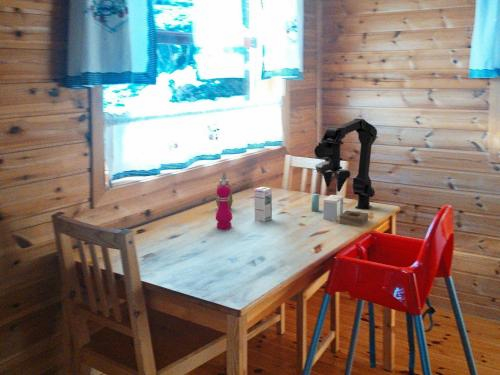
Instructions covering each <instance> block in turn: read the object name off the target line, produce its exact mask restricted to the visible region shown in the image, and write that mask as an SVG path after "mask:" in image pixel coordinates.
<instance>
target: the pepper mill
mask: <svg viewBox="0 0 500 375" xmlns="http://www.w3.org/2000/svg"><path fill="white" fill-rule="evenodd" d="M231 190H232V189H231ZM231 190H230V188H229V187H228V186H226V183H225V182H222V183H221V186H219V187H218V188H217V187H216V196H217V195H218V200H219V208H218V207H217V208H218V209H217V211H216V213H215V220H216V228H217V229H220V230H228V229H230V228H232V220H233V214H232V211H231V209H230V208H229V204H228V202H229V200H230V199H229V198H230V197H229V195H230V193H231Z"/></svg>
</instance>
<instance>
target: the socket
mask: <svg viewBox="0 0 500 375" xmlns="http://www.w3.org/2000/svg"><path fill="white" fill-rule="evenodd" d="M367 222H369V213H368V212H361V211H355V210H345V211H343V214H342V215H340V214H339V224H340V225H346V226H354V227H363V226H364V225H365V224H366V223H367Z"/></svg>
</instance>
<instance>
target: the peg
mask: <svg viewBox="0 0 500 375" xmlns="http://www.w3.org/2000/svg"><path fill="white" fill-rule="evenodd" d="M319 206H320V194H319V193H311V212H313V213H316V212H317V213H318V212H319V211H320V208H319Z"/></svg>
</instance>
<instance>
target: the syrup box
mask: <svg viewBox="0 0 500 375" xmlns="http://www.w3.org/2000/svg"><path fill="white" fill-rule="evenodd" d="M253 190H254V191H253V196H254V197H253V199H254V201H253V203H254V204H253V206H254V208H253V210H254V220H255V221H258V222H267V221H269V220H272V218H273V214H272V213H273V212H272V211H273V208H272V205H273V204H272V200H273V199H272V198H273V197H272V190H273V189H272V188H271V187H268V186H261V187H257V188H254V189H253Z"/></svg>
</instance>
